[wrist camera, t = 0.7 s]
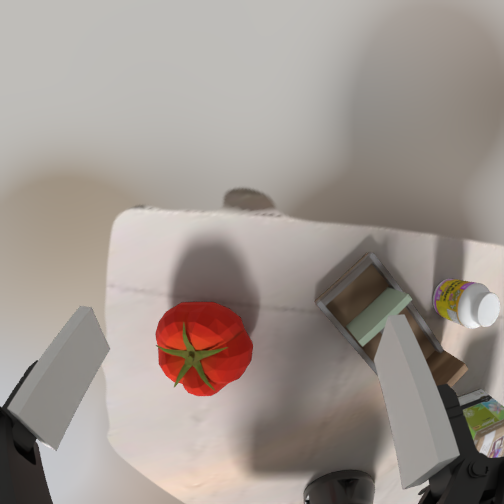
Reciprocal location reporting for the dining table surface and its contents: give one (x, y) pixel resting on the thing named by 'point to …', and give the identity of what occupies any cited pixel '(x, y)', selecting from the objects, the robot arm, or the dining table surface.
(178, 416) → the dining table surface
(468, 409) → the tea box
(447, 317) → the supplement bottle
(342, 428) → the dining table surface
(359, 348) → the lane
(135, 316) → the dining table surface
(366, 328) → the pusher
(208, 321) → the tomato
